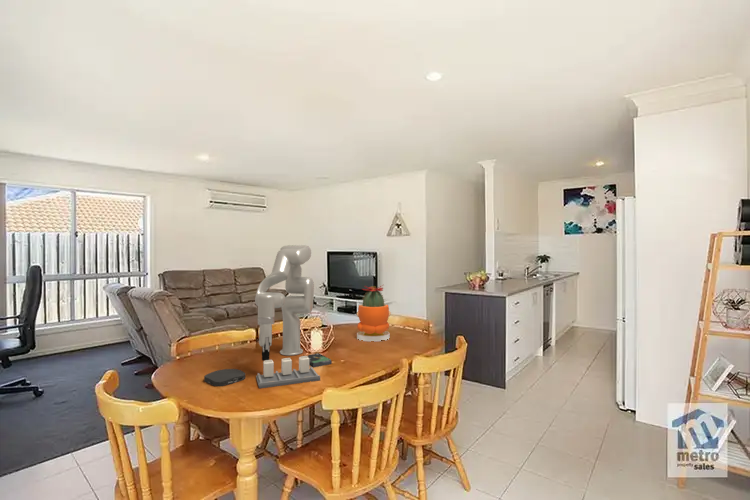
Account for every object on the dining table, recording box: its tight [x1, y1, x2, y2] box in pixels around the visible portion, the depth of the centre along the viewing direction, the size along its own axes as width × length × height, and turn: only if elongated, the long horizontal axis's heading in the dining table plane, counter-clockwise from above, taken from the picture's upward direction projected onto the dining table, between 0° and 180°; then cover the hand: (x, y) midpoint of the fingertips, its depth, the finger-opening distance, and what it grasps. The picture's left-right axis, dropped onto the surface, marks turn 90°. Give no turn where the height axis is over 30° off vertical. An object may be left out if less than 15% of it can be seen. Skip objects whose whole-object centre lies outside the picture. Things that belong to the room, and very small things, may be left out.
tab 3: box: [298, 355, 310, 373], centre depth 174 cm, size 4×4×7 cm
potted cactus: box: [356, 284, 392, 342], centre depth 242 cm, size 22×22×35 cm
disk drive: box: [300, 352, 333, 368], centre depth 193 cm, size 10×3×15 cm
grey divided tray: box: [255, 366, 321, 389], centre depth 168 cm, size 14×26×2 cm, turn 113°
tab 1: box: [262, 359, 275, 377], centre depth 168 cm, size 4×4×7 cm
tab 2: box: [280, 357, 293, 375], centre depth 171 cm, size 4×4×7 cm
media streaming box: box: [203, 368, 246, 387], centre depth 167 cm, size 15×15×3 cm
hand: (265, 360), depth 176 cm, fingers closed
